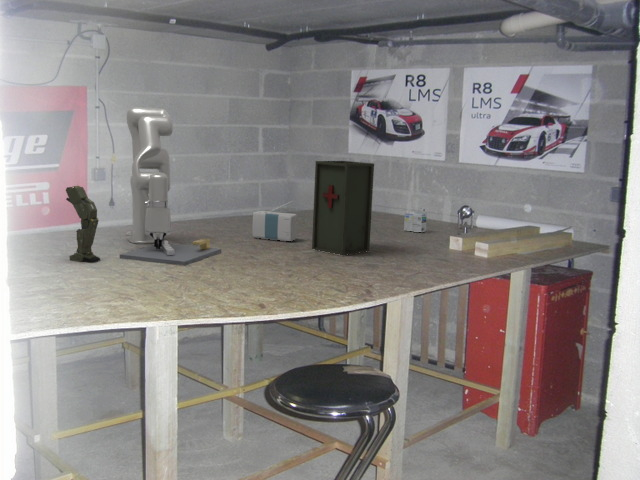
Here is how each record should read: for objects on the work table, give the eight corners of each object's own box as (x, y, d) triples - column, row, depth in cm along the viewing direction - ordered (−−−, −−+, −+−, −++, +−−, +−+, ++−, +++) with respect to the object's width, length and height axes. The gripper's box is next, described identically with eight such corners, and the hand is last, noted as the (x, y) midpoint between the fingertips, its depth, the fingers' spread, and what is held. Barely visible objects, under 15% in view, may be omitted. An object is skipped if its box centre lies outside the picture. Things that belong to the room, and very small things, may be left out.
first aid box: (369, 251, 308) (374, 163, 302) (342, 256, 295) (347, 163, 288) (338, 245, 320) (342, 160, 314) (311, 249, 307) (315, 161, 300)
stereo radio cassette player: (251, 238, 330) (252, 197, 327) (259, 236, 337) (260, 196, 334) (290, 243, 322) (292, 201, 319) (297, 240, 330) (299, 199, 327)
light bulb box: (426, 232, 375) (427, 213, 373) (421, 233, 369) (422, 214, 368) (408, 230, 381) (409, 211, 379) (403, 231, 375) (404, 212, 373)
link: (155, 244, 292) (155, 233, 291) (167, 244, 294) (167, 233, 293) (164, 255, 270) (164, 243, 270) (176, 255, 272) (176, 242, 271)
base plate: (119, 258, 270) (119, 254, 270) (161, 246, 300) (161, 242, 300) (184, 265, 262) (184, 261, 261) (221, 252, 292) (221, 248, 291)
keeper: (192, 251, 283) (192, 241, 282) (203, 247, 292) (203, 238, 291) (199, 252, 282) (199, 242, 281) (210, 248, 291) (210, 239, 290)
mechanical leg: (110, 258, 264) (94, 182, 261) (98, 262, 257) (81, 184, 254) (81, 263, 268) (65, 188, 266) (69, 266, 262) (52, 190, 259)
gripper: (139, 205, 273) (139, 250, 276) (177, 206, 276) (176, 250, 279) (139, 203, 280) (139, 246, 283) (176, 203, 283) (176, 247, 286)
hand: (158, 248), depth 281 cm, fingers closed
